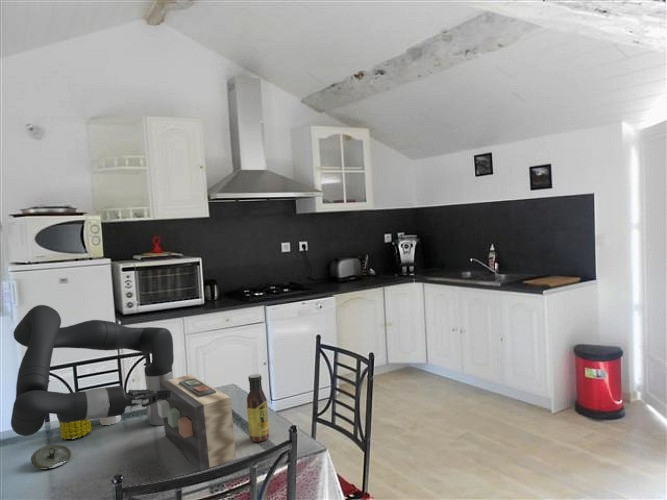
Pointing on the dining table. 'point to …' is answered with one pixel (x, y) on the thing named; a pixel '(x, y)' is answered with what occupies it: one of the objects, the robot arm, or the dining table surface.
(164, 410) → the ivory key
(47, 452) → the lid
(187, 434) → the terracotta key
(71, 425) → the food
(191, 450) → the keypad
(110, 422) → the white cup
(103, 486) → the dining table surface
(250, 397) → the sauce bottle
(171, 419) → the sage key
